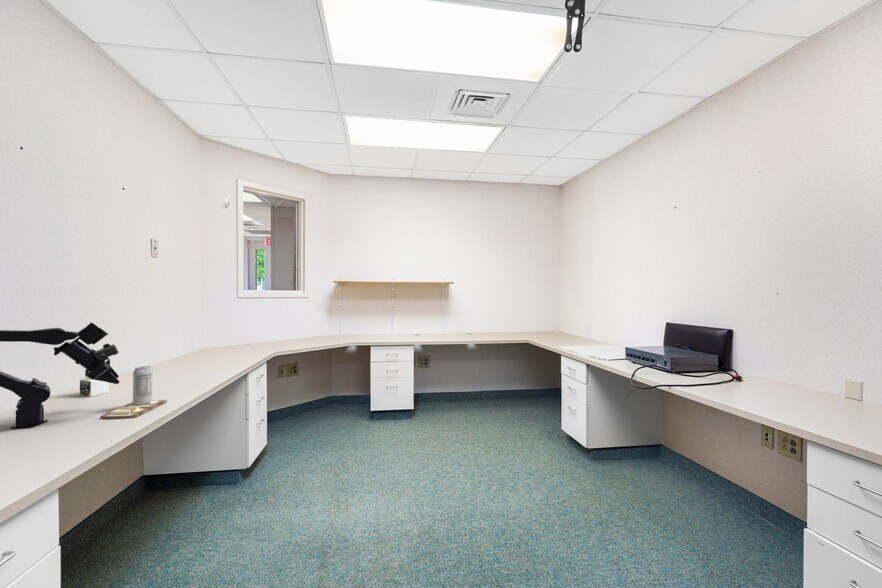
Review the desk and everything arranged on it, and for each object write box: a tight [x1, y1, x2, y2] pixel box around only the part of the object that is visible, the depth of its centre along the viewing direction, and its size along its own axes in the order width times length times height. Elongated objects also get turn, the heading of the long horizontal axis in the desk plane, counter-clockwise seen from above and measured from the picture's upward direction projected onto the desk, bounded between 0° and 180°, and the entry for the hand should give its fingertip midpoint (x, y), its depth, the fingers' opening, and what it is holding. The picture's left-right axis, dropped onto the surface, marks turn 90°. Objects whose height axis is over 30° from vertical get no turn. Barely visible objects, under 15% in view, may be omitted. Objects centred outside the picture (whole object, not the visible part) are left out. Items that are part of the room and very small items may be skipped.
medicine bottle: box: [79, 369, 110, 398], centre depth 165 cm, size 7×7×12 cm
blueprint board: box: [99, 399, 168, 420], centre depth 143 cm, size 20×12×2 cm, turn 9°
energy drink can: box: [132, 365, 153, 406], centre depth 148 cm, size 6×6×15 cm
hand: (118, 380), depth 143 cm, fingers open, 9 cm apart
